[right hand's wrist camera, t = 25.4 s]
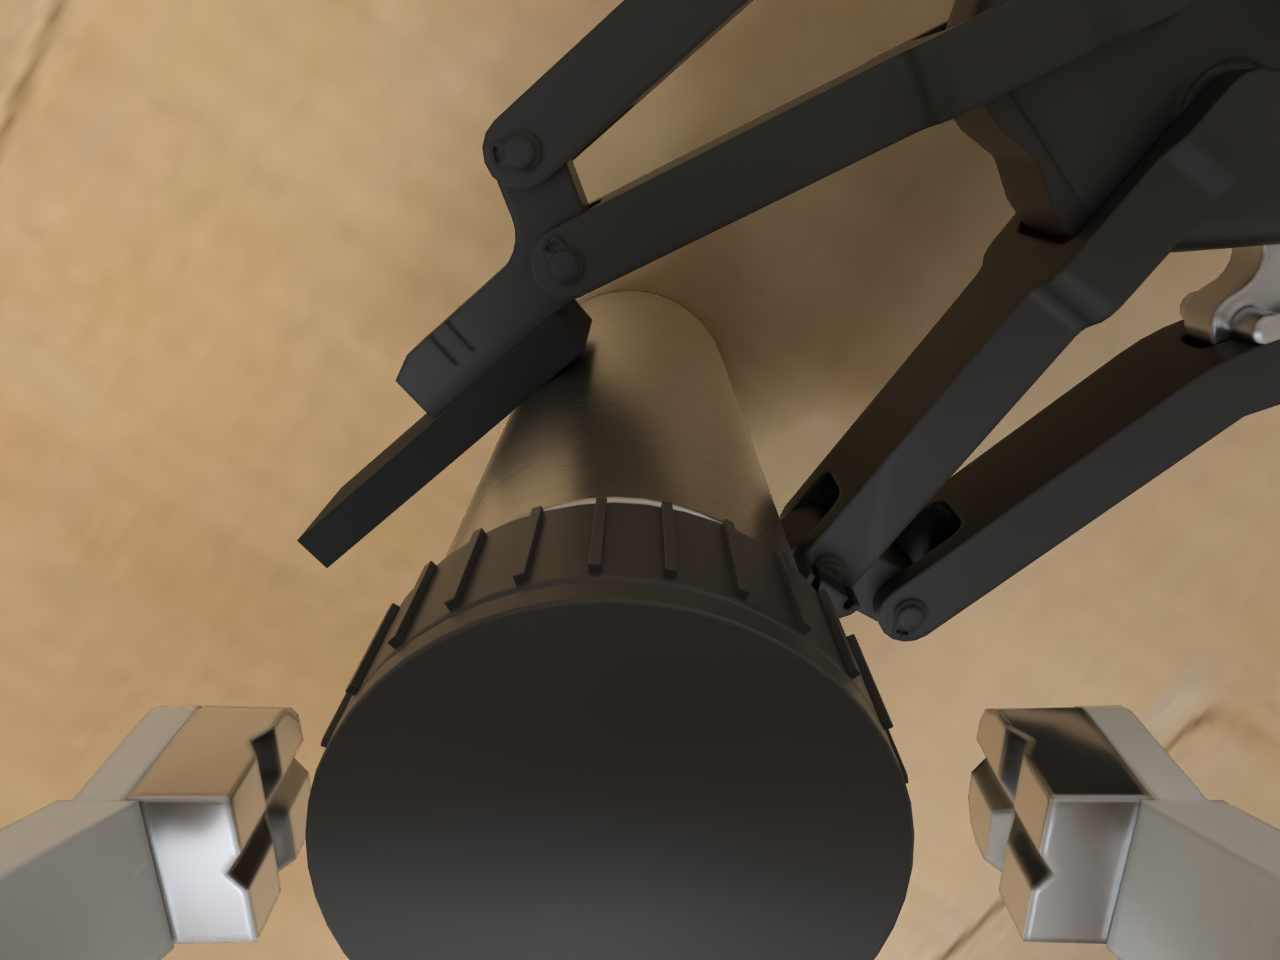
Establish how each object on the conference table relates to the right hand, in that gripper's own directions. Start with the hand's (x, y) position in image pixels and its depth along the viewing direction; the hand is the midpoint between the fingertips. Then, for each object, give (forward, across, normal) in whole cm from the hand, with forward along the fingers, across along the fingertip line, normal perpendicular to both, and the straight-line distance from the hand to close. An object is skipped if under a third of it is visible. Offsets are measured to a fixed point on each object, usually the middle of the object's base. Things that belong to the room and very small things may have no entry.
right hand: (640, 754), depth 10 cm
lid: (-2, 0, 0) cm, 2 cm away
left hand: (+8, -4, -3) cm, 10 cm away
